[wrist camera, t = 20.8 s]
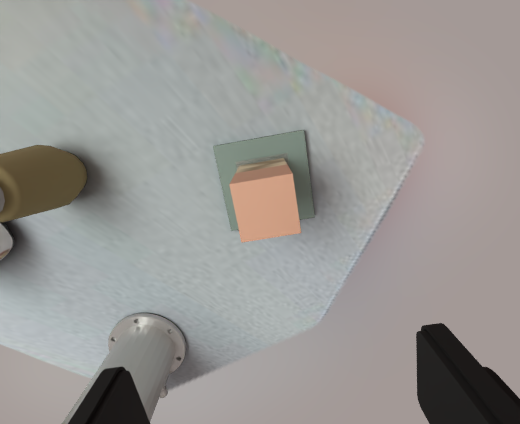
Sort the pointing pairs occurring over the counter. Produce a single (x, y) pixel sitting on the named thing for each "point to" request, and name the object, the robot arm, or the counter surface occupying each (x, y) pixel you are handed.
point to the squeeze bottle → (38, 180)
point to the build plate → (265, 150)
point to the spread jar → (5, 240)
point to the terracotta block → (265, 203)
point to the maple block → (261, 165)
